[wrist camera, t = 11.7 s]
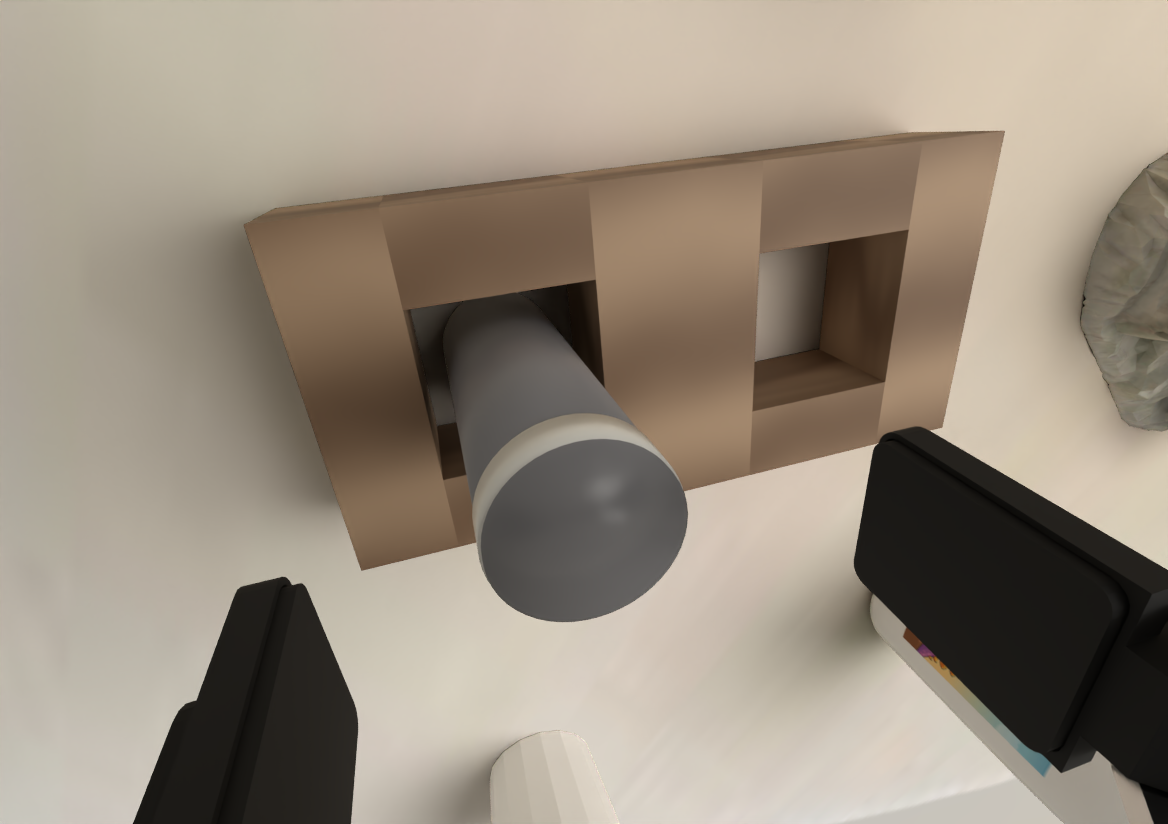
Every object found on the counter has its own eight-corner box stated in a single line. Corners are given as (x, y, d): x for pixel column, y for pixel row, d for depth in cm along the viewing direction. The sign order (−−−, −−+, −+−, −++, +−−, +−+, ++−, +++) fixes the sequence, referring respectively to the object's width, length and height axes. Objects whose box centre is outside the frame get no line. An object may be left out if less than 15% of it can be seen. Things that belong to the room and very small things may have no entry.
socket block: (275, 208, 18) (243, 224, 14) (911, 132, 22) (1004, 130, 19) (370, 510, 23) (363, 577, 19) (872, 396, 27) (940, 433, 24)
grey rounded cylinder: (430, 298, 20) (459, 470, 10) (545, 280, 21) (689, 420, 10) (453, 404, 22) (498, 647, 11) (558, 383, 23) (690, 592, 12)
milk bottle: (975, 597, 37) (1491, 1009, 19) (871, 653, 36) (1306, 1131, 19) (974, 509, 33) (1611, 921, 16) (858, 570, 32) (1386, 1069, 15)
